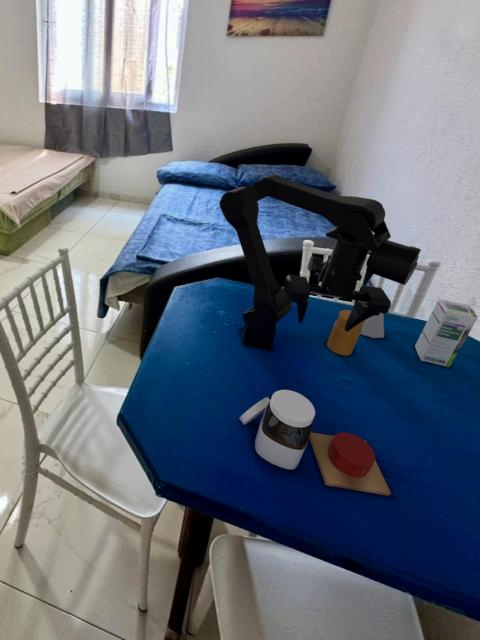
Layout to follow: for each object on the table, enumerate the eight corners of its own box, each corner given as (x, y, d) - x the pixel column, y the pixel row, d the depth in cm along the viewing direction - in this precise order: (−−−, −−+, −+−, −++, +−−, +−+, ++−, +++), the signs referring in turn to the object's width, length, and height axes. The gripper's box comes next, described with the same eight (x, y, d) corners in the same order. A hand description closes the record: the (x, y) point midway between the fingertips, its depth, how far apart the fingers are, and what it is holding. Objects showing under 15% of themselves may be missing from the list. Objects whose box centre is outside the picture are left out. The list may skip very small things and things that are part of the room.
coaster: (325, 485, 68) (326, 482, 68) (307, 434, 77) (309, 431, 76) (389, 496, 67) (391, 493, 66) (364, 443, 75) (366, 440, 75)
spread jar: (294, 483, 68) (314, 437, 63) (227, 450, 73) (240, 405, 68) (304, 432, 77) (322, 388, 72) (244, 406, 82) (257, 363, 77)
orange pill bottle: (331, 353, 97) (343, 322, 93) (323, 338, 102) (335, 308, 97) (356, 357, 96) (370, 325, 92) (347, 341, 101) (360, 310, 97)
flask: (389, 341, 102) (404, 308, 97) (357, 336, 103) (371, 304, 98) (377, 323, 108) (391, 292, 103) (348, 319, 109) (360, 288, 105)
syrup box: (420, 361, 96) (447, 311, 89) (413, 345, 101) (438, 297, 94) (449, 368, 94) (479, 317, 87) (441, 352, 99) (469, 303, 92)
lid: (369, 456, 72) (376, 444, 71) (367, 485, 67) (374, 473, 66) (330, 438, 75) (335, 426, 74) (324, 464, 71) (330, 452, 69)
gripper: (384, 251, 84) (358, 312, 92) (288, 239, 88) (272, 298, 96) (405, 278, 75) (375, 343, 82) (297, 263, 79) (278, 327, 86)
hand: (322, 326), depth 87 cm, fingers open, 9 cm apart
